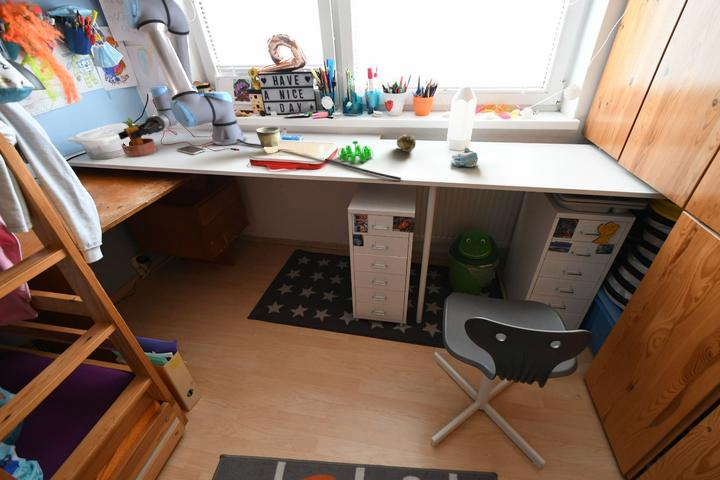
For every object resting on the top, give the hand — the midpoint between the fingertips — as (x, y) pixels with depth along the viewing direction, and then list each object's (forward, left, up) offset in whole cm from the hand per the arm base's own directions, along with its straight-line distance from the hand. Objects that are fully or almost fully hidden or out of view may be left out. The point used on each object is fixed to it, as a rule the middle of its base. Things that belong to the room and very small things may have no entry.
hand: (125, 136), depth 143 cm
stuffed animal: (-132, -63, -9) cm, 147 cm away
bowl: (+3, -5, -9) cm, 10 cm away
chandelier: (-91, -48, -9) cm, 103 cm away
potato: (-105, -66, -9) cm, 124 cm away
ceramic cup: (-51, -38, -9) cm, 64 cm away
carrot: (+3, -5, -9) cm, 10 cm away
